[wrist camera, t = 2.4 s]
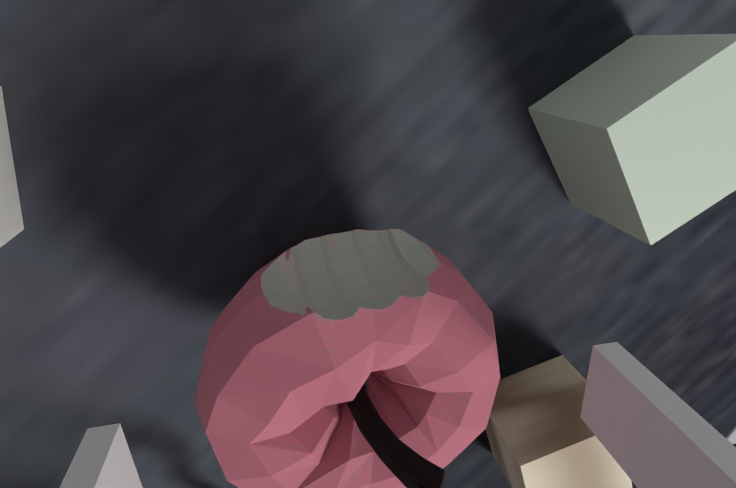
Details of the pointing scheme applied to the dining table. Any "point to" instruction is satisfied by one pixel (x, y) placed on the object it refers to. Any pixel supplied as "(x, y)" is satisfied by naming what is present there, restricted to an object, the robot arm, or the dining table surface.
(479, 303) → the apple
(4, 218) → the off-white cube
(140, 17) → the dining table surface
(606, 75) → the sage cube
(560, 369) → the beech cube
